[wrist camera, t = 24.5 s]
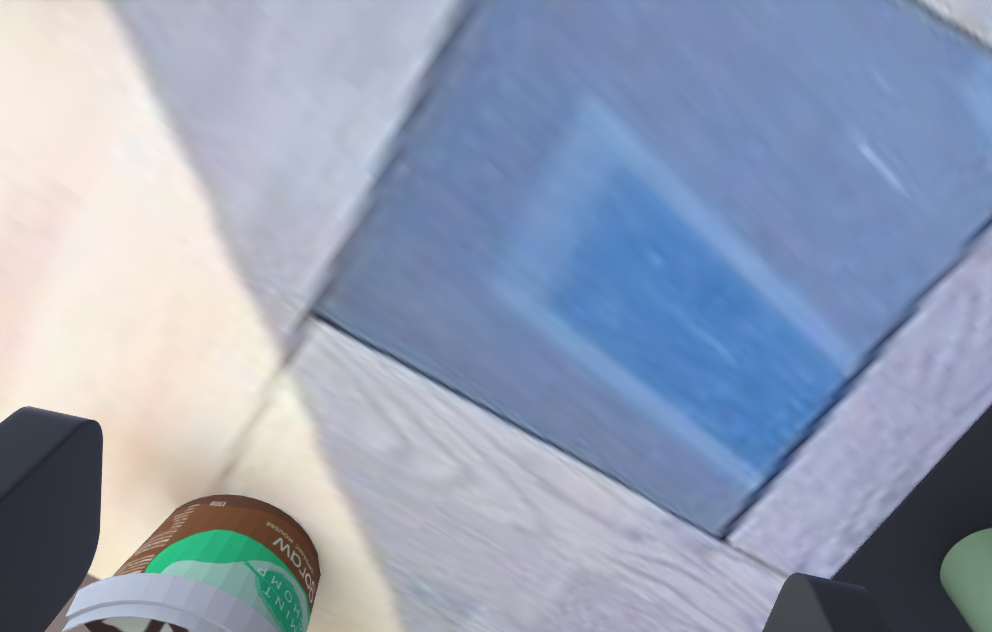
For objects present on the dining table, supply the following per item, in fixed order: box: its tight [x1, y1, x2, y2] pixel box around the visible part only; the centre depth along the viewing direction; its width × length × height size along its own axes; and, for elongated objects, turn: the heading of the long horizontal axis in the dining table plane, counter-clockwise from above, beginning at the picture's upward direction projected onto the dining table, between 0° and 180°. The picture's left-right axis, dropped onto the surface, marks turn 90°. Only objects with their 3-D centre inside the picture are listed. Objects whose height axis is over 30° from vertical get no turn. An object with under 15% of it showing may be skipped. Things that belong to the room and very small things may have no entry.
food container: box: [62, 495, 321, 632], centre depth 39 cm, size 12×6×10 cm, turn 35°
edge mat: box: [832, 406, 992, 632], centre depth 42 cm, size 28×10×1 cm, turn 151°
